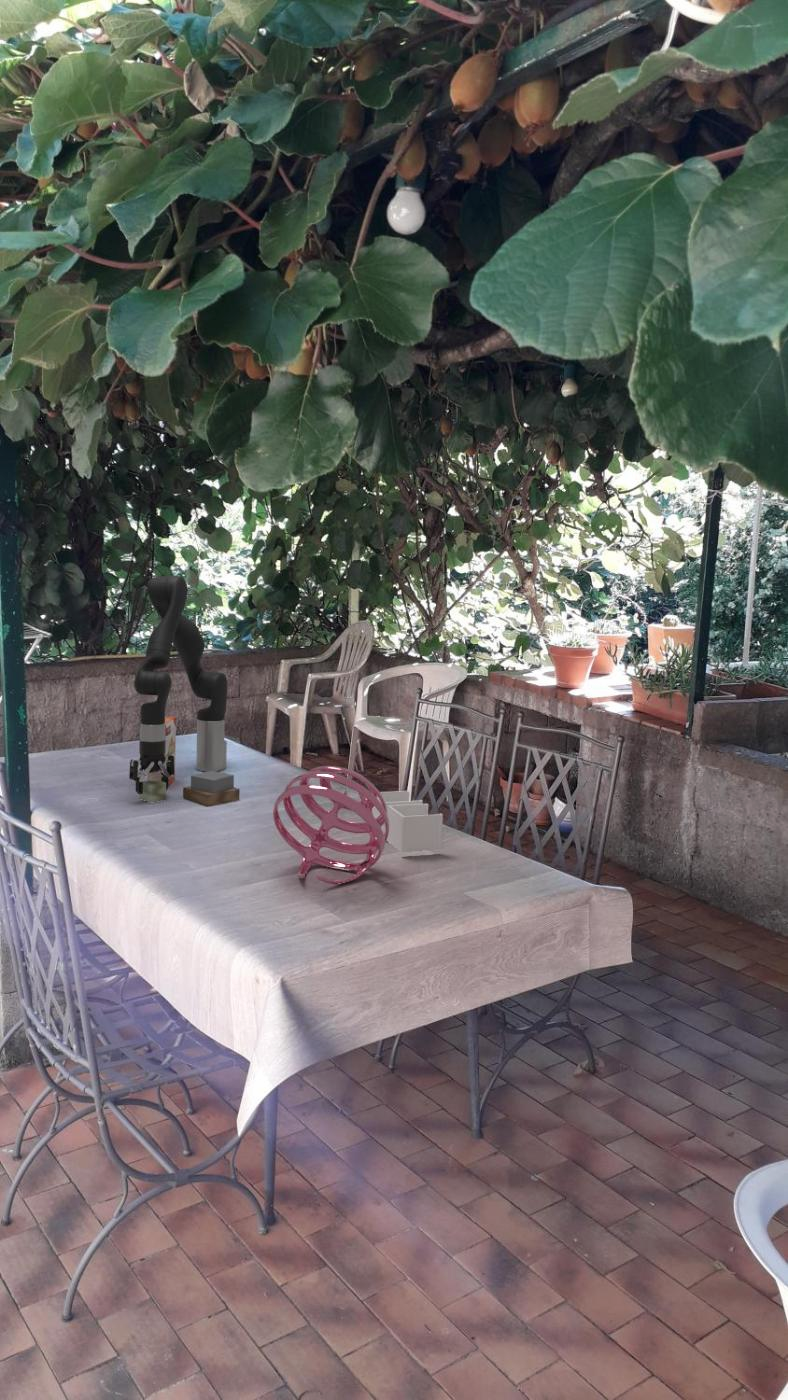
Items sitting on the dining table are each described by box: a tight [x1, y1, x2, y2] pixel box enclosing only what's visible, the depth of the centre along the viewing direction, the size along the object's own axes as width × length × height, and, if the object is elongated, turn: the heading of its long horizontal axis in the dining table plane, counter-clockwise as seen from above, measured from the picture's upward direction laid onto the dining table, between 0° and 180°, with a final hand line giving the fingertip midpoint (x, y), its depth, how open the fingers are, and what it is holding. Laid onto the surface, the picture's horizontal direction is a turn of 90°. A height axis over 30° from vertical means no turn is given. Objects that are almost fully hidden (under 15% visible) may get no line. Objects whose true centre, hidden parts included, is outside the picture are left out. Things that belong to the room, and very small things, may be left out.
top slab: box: [190, 771, 235, 794], centre depth 313 cm, size 9×9×4 cm
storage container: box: [372, 790, 444, 852], centre depth 278 cm, size 25×11×11 cm, turn 20°
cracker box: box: [147, 716, 177, 787], centre depth 328 cm, size 14×6×21 cm, turn 179°
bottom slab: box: [182, 785, 240, 808], centre depth 314 cm, size 12×12×4 cm
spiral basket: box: [272, 765, 389, 885], centre depth 247 cm, size 28×28×27 cm
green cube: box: [139, 779, 167, 804], centre depth 310 cm, size 6×6×6 cm
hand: (152, 791), depth 310 cm, fingers open, 8 cm apart
